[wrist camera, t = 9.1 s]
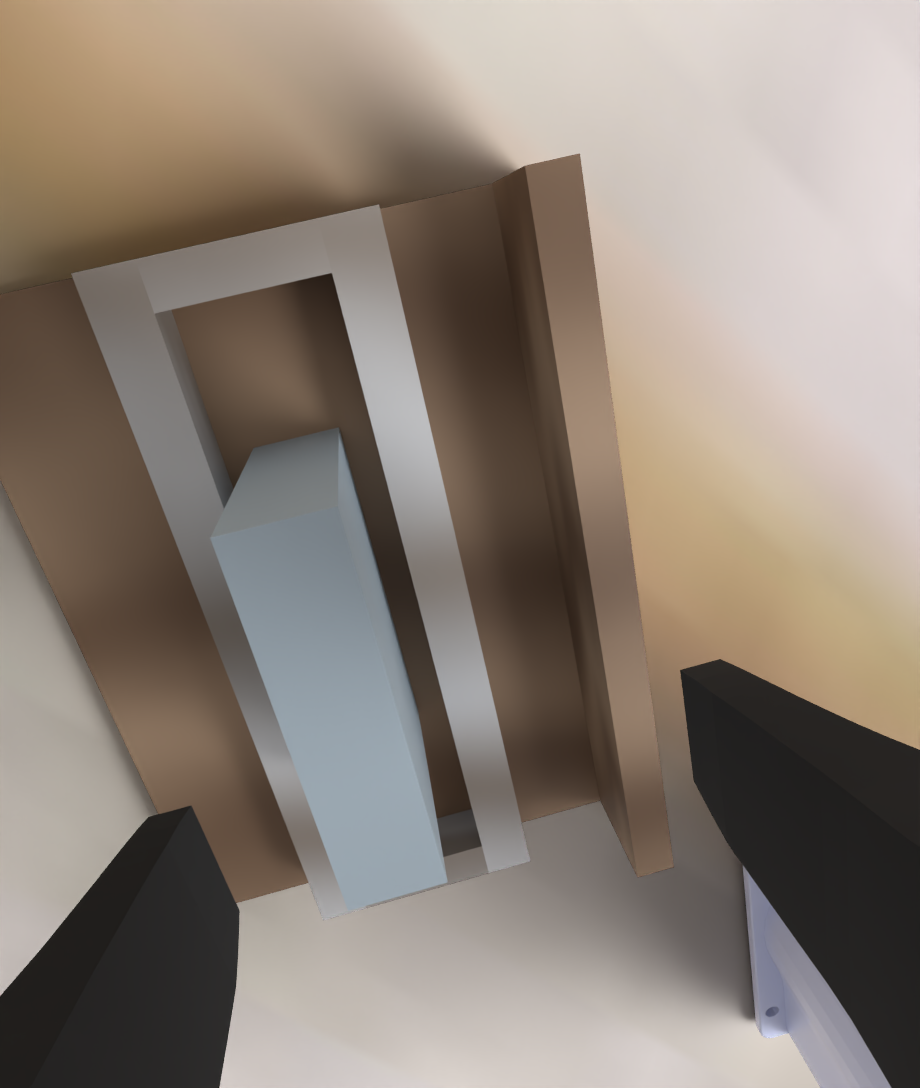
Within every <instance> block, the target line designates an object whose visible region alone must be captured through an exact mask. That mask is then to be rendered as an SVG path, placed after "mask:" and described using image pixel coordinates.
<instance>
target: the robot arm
mask: <svg viewBox="0 0 920 1088" xmlns="http://www.w3.org/2000/svg"><path fill="white" fill-rule="evenodd" d="M680 672H681V680H682V688H683V696H684V704H685V713H686V721H687V729H688V737H689V745H690V754H691V762H692V770H693V778H694V782H695V784H696V786H697V788H698V790H699V792H700V794H701V795H702V797H703V799H704V801H705V803H706V805H707V807H708V809H709V811H710V812H711V814H712V816H713V818H714V820H715V822H716V823H717V825H718V827H719V829H720V830H721V832H722V834H723V836H724V838H725V839H726V841H727V843H728V844H729V846H730V847H731V849H732V850H733V852H734V853H735V855H736V856H737V857H738V859H739V860H740V862H741V863H742V865H743V875H744V887H745V899H746V911H747V923H748V935H749V947H750V958H751V970H752V982H753V994H754V1006H755V1018H756V1026H757V1028H758V1030H759V1032H760V1033H761V1035H762V1036H763V1037H766V1038H773V1037H777V1036H780V1035H783V1034H787V1033H789V1034H790V1036H791V1038H792V1040H793V1041H794V1043H795V1045H796V1047H797V1048H798V1050H799V1052H800V1053H801V1055H802V1057H803V1059H804V1060H805V1062H806V1064H807V1065H808V1067H809V1069H810V1071H811V1072H812V1074H813V1076H814V1077H815V1079H816V1081H817V1083H818V1084H819V1086H820V1088H920V750H918V749H916V748H913V747H911V746H908V745H906V744H904V743H901V742H899V741H896V740H894V739H891V738H889V737H886V736H884V735H882V734H879V733H877V732H875V731H872V730H870V729H868V728H865V727H863V726H861V725H858V724H856V723H854V722H852V721H850V720H847V719H845V718H843V717H841V716H839V715H836V714H834V713H832V712H830V711H828V710H826V709H823V708H821V707H819V706H817V705H815V704H813V703H811V702H809V701H807V700H804V699H802V698H800V697H798V696H796V695H794V694H792V693H790V692H788V691H786V690H784V689H782V688H780V687H778V686H776V685H774V684H771V683H769V682H767V681H765V680H763V679H761V678H759V677H757V676H755V675H753V674H751V673H749V672H747V671H745V670H743V669H741V668H739V667H736V666H734V665H732V664H730V663H728V662H725V661H723V660H721V659H719V660H715V661H712V662H708V663H705V664H701V665H697V666H694V667H690V668H686V669H683V670H680ZM238 940H239V909H238V907H237V904H236V902H235V900H234V898H233V896H232V893H231V891H230V889H229V887H228V885H227V882H226V880H225V878H224V876H223V874H222V871H221V869H220V867H219V865H218V863H217V860H216V858H215V856H214V854H213V852H212V849H211V847H210V845H209V843H208V841H207V838H206V836H205V834H204V832H203V830H202V827H201V825H200V823H199V821H198V819H197V816H196V814H195V812H194V810H193V808H192V805H191V806H187V807H183V808H180V809H176V810H172V811H169V812H165V813H162V814H158V815H154V816H151V817H148V818H147V819H146V821H145V822H144V823H143V824H142V825H141V826H140V827H139V828H138V830H137V831H136V832H135V833H134V834H133V836H132V837H131V838H130V839H129V840H128V842H127V843H126V844H125V845H124V847H123V848H122V849H121V850H120V852H119V853H118V854H117V855H116V856H115V858H114V859H113V860H112V862H111V863H110V864H109V865H108V867H107V868H106V869H105V870H104V872H103V873H102V874H101V875H100V877H99V878H98V879H97V880H96V882H95V883H94V884H93V885H92V887H91V888H90V889H89V890H88V892H87V893H86V894H85V895H84V897H83V898H82V899H81V900H80V902H79V903H78V904H77V905H76V907H75V908H74V909H73V910H72V912H71V913H70V914H69V915H68V916H67V918H66V919H65V920H64V921H63V923H62V924H61V925H60V926H59V928H58V929H57V930H56V931H55V933H54V934H53V935H52V936H51V938H50V939H49V940H48V941H47V942H46V944H45V945H44V946H43V947H42V949H41V950H40V951H39V952H38V953H37V954H36V956H35V957H34V958H33V959H32V960H31V961H30V962H29V964H28V965H27V966H26V967H25V968H24V969H23V971H22V972H21V973H20V974H19V975H18V976H17V977H16V979H15V980H14V981H13V982H12V983H11V984H10V986H9V987H8V988H7V989H6V990H5V991H4V993H3V994H2V995H1V996H0V1088H219V1086H220V1080H221V1074H222V1068H223V1063H224V1057H225V1051H226V1045H227V1039H228V1033H229V1027H230V1021H231V1015H232V1009H233V1002H234V996H235V989H236V979H237V962H238Z"/></svg>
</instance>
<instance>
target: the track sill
mask: <svg viewBox="0 0 920 1088" xmlns="http://www.w3.org/2000/svg"><path fill="white" fill-rule="evenodd" d="M71 275H72V277H73V278H70V279H66V280H61V281H57V282H52V283H48V284H43V285H39V286H35V287H30V288H26V289H21V290H17V291H12V292H8V293H3V294H0V480H1V482H2V485H3V487H4V489H5V491H6V493H7V495H8V497H9V499H10V501H11V504H12V506H13V508H14V510H15V512H16V514H17V516H18V518H19V520H20V523H21V525H22V527H23V529H24V531H25V533H26V535H27V537H28V540H29V542H30V544H31V546H32V548H33V550H34V552H35V554H36V556H37V559H38V561H39V563H40V565H41V567H42V569H43V571H44V573H45V575H46V578H47V580H48V582H49V584H50V586H51V588H52V590H53V592H54V594H55V597H56V599H57V601H58V603H59V605H60V607H61V609H62V611H63V614H64V616H65V618H66V620H67V622H68V624H69V626H70V628H71V630H72V633H73V635H74V637H75V639H76V641H77V643H78V645H79V647H80V649H81V652H82V654H83V656H84V658H85V660H86V662H87V664H88V666H89V668H90V671H91V673H92V675H93V677H94V679H95V681H96V683H97V685H98V688H99V690H100V692H101V694H102V696H103V698H104V700H105V702H106V704H107V707H108V709H109V711H110V713H111V715H112V717H113V719H114V721H115V723H116V726H117V728H118V730H119V732H120V734H121V736H122V738H123V740H124V742H125V745H126V747H127V749H128V751H129V753H130V755H131V757H132V759H133V762H134V764H135V766H136V768H137V770H138V772H139V774H140V776H141V778H142V781H143V783H144V785H145V787H146V789H147V791H148V793H149V795H150V797H151V800H152V802H153V804H154V806H155V808H156V810H157V812H158V814H162V813H165V812H169V811H172V810H176V809H180V808H183V807H187V806H191V805H192V808H193V810H194V812H195V814H196V816H197V819H198V821H199V823H200V825H201V827H202V830H203V832H204V834H205V836H206V838H207V841H208V843H209V845H210V847H211V849H212V852H213V854H214V856H215V858H216V860H217V863H218V865H219V867H220V869H221V871H222V874H223V876H224V878H225V880H226V882H227V885H228V887H229V889H230V891H231V893H232V896H233V898H234V900H235V902H236V903H238V902H242V901H245V900H249V899H252V898H256V897H259V896H263V895H266V894H270V893H274V892H277V891H281V890H284V889H288V888H291V887H295V886H298V885H302V884H305V883H309V885H310V887H311V890H312V893H313V895H314V898H315V900H316V903H317V905H318V908H319V911H320V913H321V916H322V918H323V920H327V919H330V918H334V917H337V916H341V915H344V914H348V913H351V912H355V911H358V910H362V909H365V908H369V907H372V906H376V905H379V904H383V903H386V902H390V901H393V900H397V899H400V898H404V897H407V896H411V895H414V894H418V893H421V892H425V891H428V890H432V889H435V888H439V887H442V886H446V885H449V884H453V883H456V882H460V881H463V880H467V879H470V878H474V877H477V876H481V875H484V874H488V873H491V872H495V871H498V870H502V869H505V868H509V867H512V866H516V865H519V864H523V863H526V862H530V857H529V853H528V848H527V844H526V840H525V835H524V831H523V827H522V822H526V821H529V820H533V819H536V818H540V817H543V816H547V815H550V814H554V813H558V812H561V811H565V810H568V809H572V808H575V807H579V806H582V805H586V804H589V803H593V802H597V801H601V803H602V805H603V807H604V809H605V811H606V813H607V815H608V817H609V819H610V821H611V824H612V826H613V828H614V830H615V832H616V834H617V836H618V838H619V840H620V842H621V844H622V846H623V848H624V850H625V853H626V855H627V857H628V859H629V861H630V863H631V865H632V867H633V869H634V871H635V873H636V875H637V877H642V876H645V875H648V874H652V873H655V872H659V871H662V870H666V869H669V868H673V867H674V864H673V857H672V849H671V842H670V834H669V827H668V819H667V811H666V804H665V796H664V789H663V781H662V773H661V766H660V758H659V751H658V743H657V735H656V728H655V720H654V713H653V705H652V698H651V690H650V682H649V675H648V667H647V660H646V652H645V644H644V637H643V629H642V622H641V614H640V607H639V599H638V591H637V584H636V576H635V569H634V561H633V553H632V546H631V538H630V531H629V523H628V516H627V508H626V500H625V493H624V485H623V478H622V470H621V462H620V455H619V447H618V440H617V432H616V425H615V417H614V409H613V402H612V394H611V387H610V379H609V371H608V364H607V356H606V349H605V341H604V334H603V326H602V318H601V311H600V303H599V296H598V288H597V280H596V273H595V265H594V258H593V250H592V243H591V235H590V227H589V220H588V212H587V205H586V197H585V189H584V182H583V174H582V167H581V159H580V154H576V155H571V156H567V157H562V158H558V159H553V160H549V161H544V162H540V163H535V164H531V165H527V166H524V167H522V168H520V169H518V170H516V171H515V172H513V173H511V174H509V175H507V176H505V177H503V178H502V179H500V180H498V181H496V182H494V183H492V184H488V185H483V186H479V187H475V188H470V189H466V190H461V191H457V192H452V193H448V194H443V195H439V196H435V197H430V198H426V199H421V200H417V201H412V202H408V203H403V204H399V205H395V206H390V207H386V208H381V209H380V207H379V204H378V205H374V206H369V207H365V208H360V209H356V210H351V211H347V212H342V213H338V214H334V215H329V216H325V217H320V218H316V219H311V220H307V221H302V222H298V223H293V224H289V225H285V226H280V227H276V228H271V229H267V230H262V231H258V232H253V233H249V234H245V235H240V236H236V237H231V238H227V239H222V240H218V241H213V242H209V243H204V244H200V245H196V246H191V247H187V248H182V249H178V250H173V251H169V252H164V253H160V254H155V255H151V256H147V257H142V258H138V259H133V260H129V261H124V262H120V263H115V264H111V265H106V266H102V267H98V268H93V269H89V270H84V271H80V272H75V273H71ZM338 427H339V429H340V433H341V436H342V440H343V444H344V447H345V451H346V454H347V458H348V461H349V465H350V469H351V472H352V476H353V479H354V483H355V487H356V490H357V494H358V497H359V501H360V504H361V508H362V512H363V515H364V519H365V522H366V526H367V529H368V533H369V537H370V540H371V544H372V547H373V551H374V555H375V558H376V562H377V565H378V569H379V572H380V576H381V580H382V583H383V587H384V590H385V594H386V597H387V601H388V605H389V608H390V612H391V615H392V619H393V623H394V626H395V630H396V633H397V637H398V640H399V644H400V648H401V651H402V655H403V658H404V662H405V665H406V669H407V673H408V676H409V680H410V683H411V687H412V691H413V694H414V698H415V701H416V705H417V708H418V713H419V719H420V724H421V730H422V736H423V742H424V748H425V753H426V759H427V765H428V771H429V777H430V783H431V788H432V794H433V800H434V806H435V812H436V818H437V823H438V829H439V835H440V841H441V847H442V852H443V858H444V864H445V870H446V876H447V883H444V884H440V885H437V886H433V887H430V888H426V889H423V890H419V891H416V892H412V893H409V894H405V895H402V896H398V897H395V898H391V899H388V900H384V901H381V902H377V903H374V904H370V905H367V906H363V907H360V908H356V909H353V910H349V911H348V909H347V907H346V904H345V901H344V898H343V896H342V893H341V890H340V888H339V885H338V882H337V879H336V877H335V874H334V871H333V869H332V866H331V863H330V861H329V858H328V855H327V852H326V850H325V847H324V844H323V842H322V839H321V836H320V833H319V831H318V828H317V825H316V823H315V820H314V817H313V815H312V812H311V809H310V806H309V804H308V801H307V798H306V796H305V793H304V790H303V788H302V785H301V782H300V779H299V777H298V774H297V771H296V769H295V766H294V763H293V760H292V758H291V755H290V752H289V750H288V747H287V744H286V742H285V739H284V736H283V733H282V731H281V728H280V725H279V723H278V720H277V717H276V715H275V712H274V709H273V706H272V704H271V701H270V698H269V696H268V693H267V690H266V687H265V685H264V682H263V679H262V677H261V674H260V671H259V669H258V666H257V663H256V660H255V658H254V655H253V652H252V650H251V647H250V644H249V641H248V639H247V636H246V633H245V631H244V628H243V625H242V623H241V620H240V617H239V614H238V612H237V609H236V606H235V604H234V601H233V598H232V596H231V593H230V590H229V587H228V585H227V582H226V579H225V577H224V574H223V571H222V568H221V566H220V563H219V560H218V558H217V555H216V552H215V550H214V547H213V544H212V541H211V539H210V537H211V535H212V533H213V531H214V529H215V527H216V525H217V523H218V521H219V519H220V517H221V515H222V513H223V510H224V508H225V506H226V504H227V502H228V500H229V498H230V496H231V494H232V492H233V490H234V488H235V486H236V483H237V481H238V479H239V477H240V475H241V473H242V471H243V469H244V467H245V465H246V463H247V461H248V459H249V456H250V454H251V452H252V450H253V448H256V447H260V446H264V445H268V444H272V443H276V442H280V441H284V440H288V439H293V438H297V437H301V436H305V435H309V434H313V433H317V432H321V431H325V430H330V429H334V428H338Z"/></svg>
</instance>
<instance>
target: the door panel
mask: <svg viewBox="0 0 920 1088" xmlns="http://www.w3.org/2000/svg"><path fill="white" fill-rule="evenodd" d="M210 539H211V541H212V544H213V547H214V550H215V552H216V555H217V558H218V560H219V563H220V566H221V568H222V571H223V574H224V577H225V579H226V582H227V585H228V587H229V590H230V593H231V596H232V598H233V601H234V604H235V606H236V609H237V612H238V614H239V617H240V620H241V623H242V625H243V628H244V631H245V633H246V636H247V639H248V641H249V644H250V647H251V650H252V652H253V655H254V658H255V660H256V663H257V666H258V669H259V671H260V674H261V677H262V679H263V682H264V685H265V687H266V690H267V693H268V696H269V698H270V701H271V704H272V706H273V709H274V712H275V715H276V717H277V720H278V723H279V725H280V728H281V731H282V733H283V736H284V739H285V742H286V744H287V747H288V750H289V752H290V755H291V758H292V760H293V763H294V766H295V769H296V771H297V774H298V777H299V779H300V782H301V785H302V788H303V790H304V793H305V796H306V798H307V801H308V804H309V806H310V809H311V812H312V815H313V817H314V820H315V823H316V825H317V828H318V831H319V833H320V836H321V839H322V842H323V844H324V847H325V850H326V852H327V855H328V858H329V861H330V863H331V866H332V869H333V871H334V874H335V877H336V879H337V882H338V885H339V888H340V890H341V893H342V896H343V898H344V901H345V904H346V907H347V909H348V911H349V910H353V909H356V908H360V907H363V906H367V905H370V904H374V903H377V902H381V901H384V900H388V899H391V898H395V897H398V896H402V895H405V894H409V893H412V892H416V891H419V890H423V889H426V888H430V887H433V886H437V885H440V884H444V883H447V876H446V870H445V864H444V858H443V852H442V847H441V841H440V835H439V829H438V823H437V818H436V812H435V806H434V800H433V794H432V788H431V783H430V777H429V771H428V765H427V759H426V753H425V748H424V742H423V736H422V730H421V724H420V719H419V713H418V708H417V705H416V701H415V698H414V694H413V691H412V687H411V683H410V680H409V676H408V673H407V669H406V665H405V662H404V658H403V655H402V651H401V648H400V644H399V640H398V637H397V633H396V630H395V626H394V623H393V619H392V615H391V612H390V608H389V605H388V601H387V597H386V594H385V590H384V587H383V583H382V580H381V576H380V572H379V569H378V565H377V562H376V558H375V555H374V551H373V547H372V544H371V540H370V537H369V533H368V529H367V526H366V522H365V519H364V515H363V512H362V508H361V504H360V501H359V497H358V494H357V490H356V487H355V483H354V479H353V476H352V472H351V469H350V465H349V461H348V458H347V454H346V451H345V447H344V444H343V440H342V436H341V433H340V429H339V427H338V428H334V429H330V430H325V431H321V432H317V433H313V434H309V435H305V436H301V437H297V438H293V439H288V440H284V441H280V442H276V443H272V444H268V445H264V446H260V447H256V448H253V450H252V452H251V454H250V456H249V459H248V461H247V463H246V465H245V467H244V469H243V471H242V473H241V475H240V477H239V479H238V481H237V483H236V486H235V488H234V490H233V492H232V494H231V496H230V498H229V500H228V502H227V504H226V506H225V508H224V510H223V513H222V515H221V517H220V519H219V521H218V523H217V525H216V527H215V529H214V531H213V533H212V535H211V537H210Z"/></svg>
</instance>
